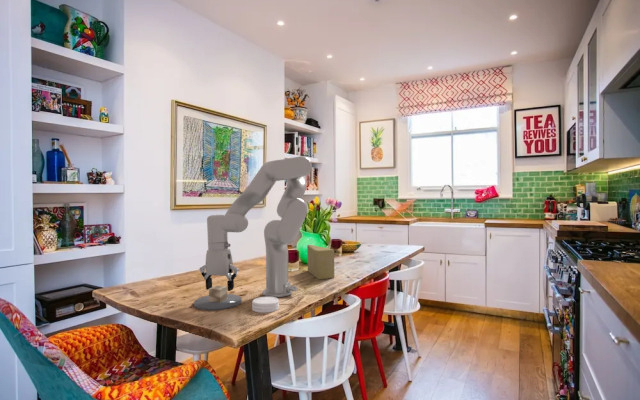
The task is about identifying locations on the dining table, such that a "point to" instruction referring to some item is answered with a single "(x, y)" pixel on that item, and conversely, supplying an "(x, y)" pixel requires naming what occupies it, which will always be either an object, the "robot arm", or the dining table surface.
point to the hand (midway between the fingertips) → (219, 289)
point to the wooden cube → (217, 293)
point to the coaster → (265, 304)
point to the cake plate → (217, 303)
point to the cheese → (320, 262)
